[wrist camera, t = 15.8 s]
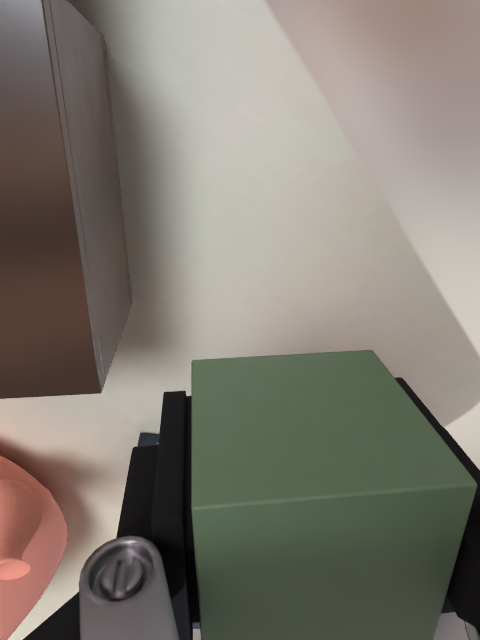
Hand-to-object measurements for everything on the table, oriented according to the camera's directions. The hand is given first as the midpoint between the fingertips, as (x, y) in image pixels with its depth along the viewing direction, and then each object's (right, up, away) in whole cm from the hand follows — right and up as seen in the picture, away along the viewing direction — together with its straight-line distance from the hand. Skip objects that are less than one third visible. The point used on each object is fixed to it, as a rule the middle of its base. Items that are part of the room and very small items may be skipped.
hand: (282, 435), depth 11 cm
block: (0, 0, 0) cm, 0 cm away
